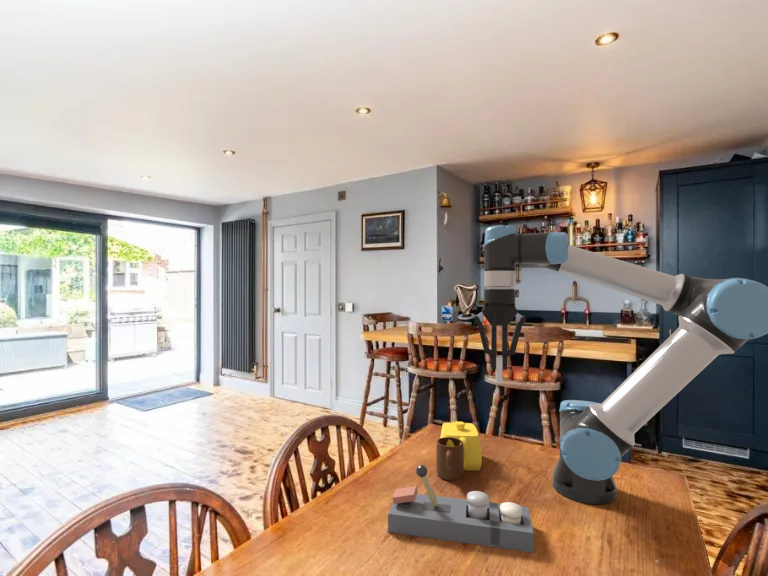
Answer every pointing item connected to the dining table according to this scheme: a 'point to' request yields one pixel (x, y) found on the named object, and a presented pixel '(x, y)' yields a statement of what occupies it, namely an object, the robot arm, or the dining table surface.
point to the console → (460, 523)
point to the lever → (426, 483)
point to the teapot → (465, 443)
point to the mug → (449, 459)
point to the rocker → (405, 495)
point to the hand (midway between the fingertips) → (499, 382)
